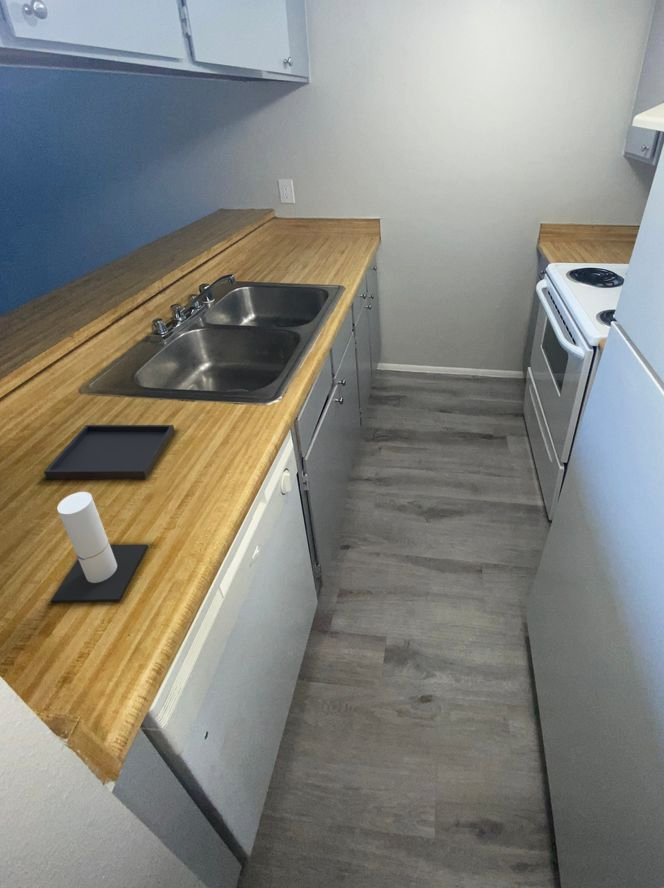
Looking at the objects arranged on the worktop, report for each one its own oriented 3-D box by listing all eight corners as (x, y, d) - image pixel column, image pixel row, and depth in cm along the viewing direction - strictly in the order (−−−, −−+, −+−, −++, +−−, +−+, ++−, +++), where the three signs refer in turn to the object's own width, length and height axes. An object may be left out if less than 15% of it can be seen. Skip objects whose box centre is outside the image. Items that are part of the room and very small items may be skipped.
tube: (121, 557, 78) (96, 490, 71) (111, 580, 74) (84, 512, 67) (92, 561, 77) (65, 493, 70) (81, 584, 74) (51, 515, 67)
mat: (51, 602, 71) (50, 600, 71) (87, 547, 80) (86, 545, 80) (119, 601, 72) (118, 599, 72) (148, 546, 81) (147, 544, 80)
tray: (46, 479, 94) (43, 471, 93) (88, 431, 107) (86, 424, 106) (145, 478, 95) (143, 471, 94) (175, 431, 108) (173, 424, 107)
